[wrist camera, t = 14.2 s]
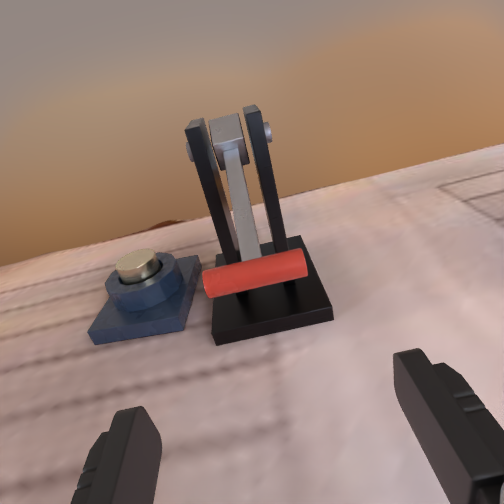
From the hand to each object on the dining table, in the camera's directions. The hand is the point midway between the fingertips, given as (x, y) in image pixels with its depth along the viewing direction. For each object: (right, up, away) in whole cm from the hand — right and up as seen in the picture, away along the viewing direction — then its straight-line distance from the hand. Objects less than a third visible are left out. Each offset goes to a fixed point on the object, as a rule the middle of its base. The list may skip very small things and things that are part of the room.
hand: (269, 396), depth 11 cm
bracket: (+1, +1, +20) cm, 20 cm away
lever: (-1, +8, +12) cm, 14 cm away
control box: (-10, 0, +22) cm, 24 cm away
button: (-11, +2, +20) cm, 23 cm away
